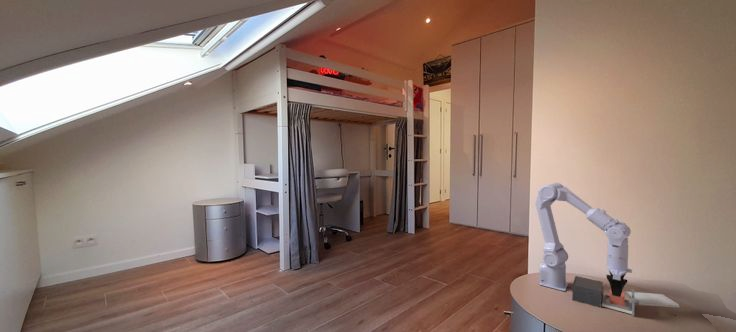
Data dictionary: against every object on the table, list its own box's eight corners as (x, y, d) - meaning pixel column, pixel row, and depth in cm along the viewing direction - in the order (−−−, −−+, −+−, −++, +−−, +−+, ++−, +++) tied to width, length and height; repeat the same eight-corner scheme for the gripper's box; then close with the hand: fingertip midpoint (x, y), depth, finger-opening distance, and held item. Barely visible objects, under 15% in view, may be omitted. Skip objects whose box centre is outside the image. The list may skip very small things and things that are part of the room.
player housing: (572, 299, 110) (572, 284, 110) (575, 290, 117) (575, 275, 117) (601, 307, 104) (601, 291, 104) (602, 297, 111) (602, 282, 111)
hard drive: (639, 302, 105) (679, 304, 103) (624, 290, 113) (661, 293, 111) (639, 306, 106) (679, 309, 103) (624, 294, 114) (661, 297, 111)
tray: (601, 307, 104) (602, 291, 104) (603, 296, 111) (603, 282, 111) (634, 316, 98) (634, 299, 98) (633, 304, 105) (633, 288, 105)
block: (624, 307, 102) (624, 297, 102) (609, 303, 105) (609, 293, 105) (624, 302, 105) (624, 292, 105) (610, 299, 108) (610, 289, 108)
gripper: (632, 265, 96) (631, 303, 97) (631, 252, 107) (630, 287, 107) (605, 260, 101) (604, 296, 102) (607, 248, 111) (606, 281, 112)
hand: (616, 291), depth 105 cm, fingers open, 7 cm apart
